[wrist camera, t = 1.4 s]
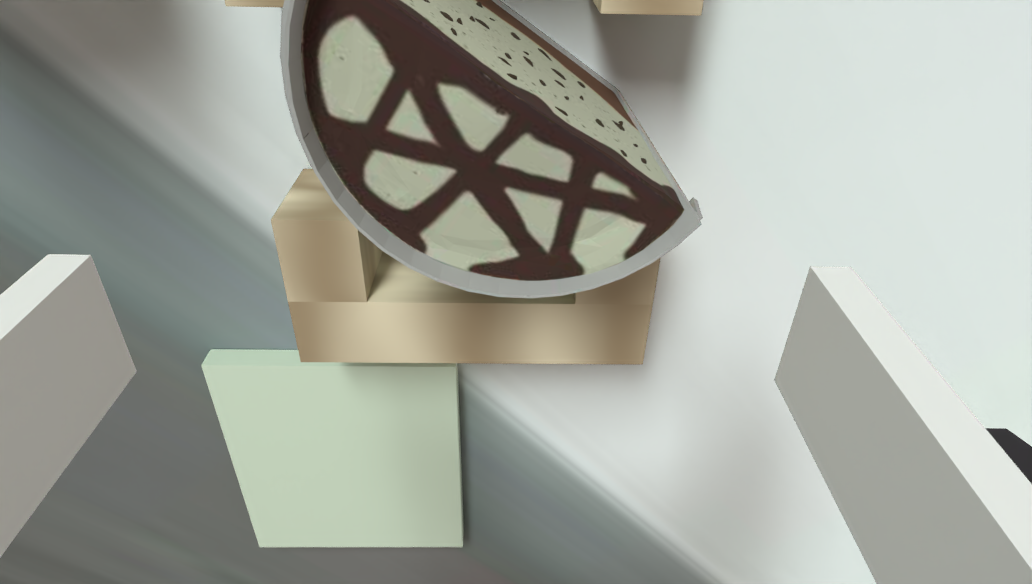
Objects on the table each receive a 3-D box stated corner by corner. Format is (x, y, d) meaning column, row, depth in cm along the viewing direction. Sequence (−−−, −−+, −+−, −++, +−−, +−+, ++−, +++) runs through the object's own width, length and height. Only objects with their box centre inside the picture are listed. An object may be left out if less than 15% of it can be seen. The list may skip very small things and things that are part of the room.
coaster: (265, 529, 40) (259, 547, 39) (210, 349, 32) (201, 365, 31) (463, 529, 40) (462, 546, 39) (457, 351, 32) (455, 366, 31)
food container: (289, 57, 24) (177, 162, 16) (368, -100, 22) (282, -72, 13) (552, 225, 28) (573, 378, 20) (647, 111, 26) (716, 234, 17)
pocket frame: (325, 299, 30) (300, 362, 27) (230, -260, 19) (163, -289, 15) (625, 302, 31) (642, 364, 27) (702, -247, 20) (748, -271, 16)
